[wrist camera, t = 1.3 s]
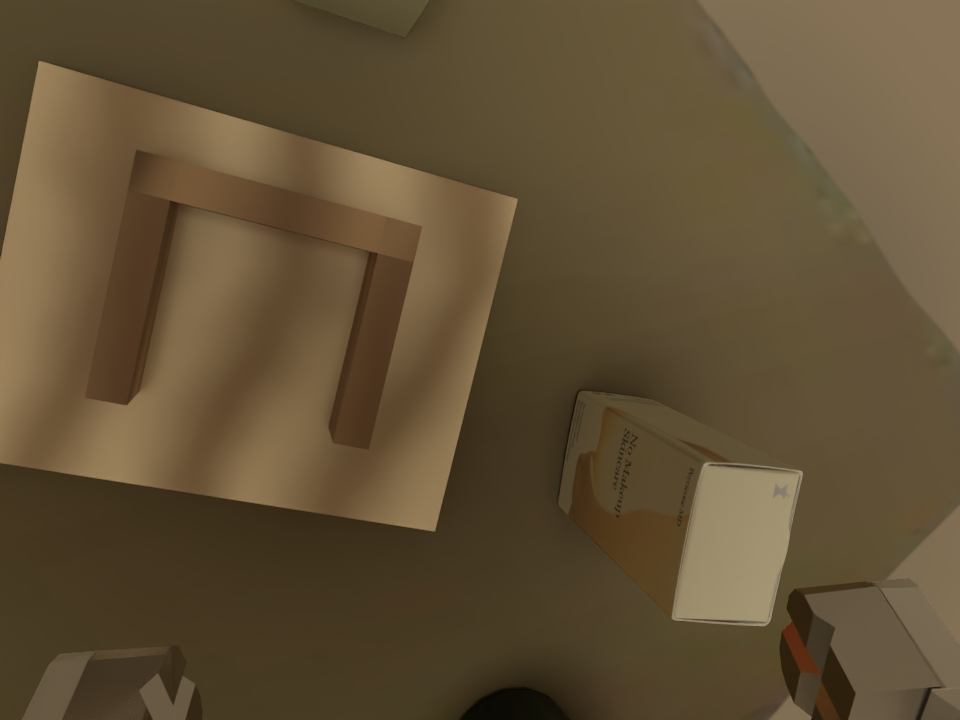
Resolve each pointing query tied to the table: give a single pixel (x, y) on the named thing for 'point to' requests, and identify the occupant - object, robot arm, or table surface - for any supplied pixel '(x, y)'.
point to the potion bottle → (517, 707)
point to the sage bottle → (375, 12)
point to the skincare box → (680, 507)
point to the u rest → (237, 307)
